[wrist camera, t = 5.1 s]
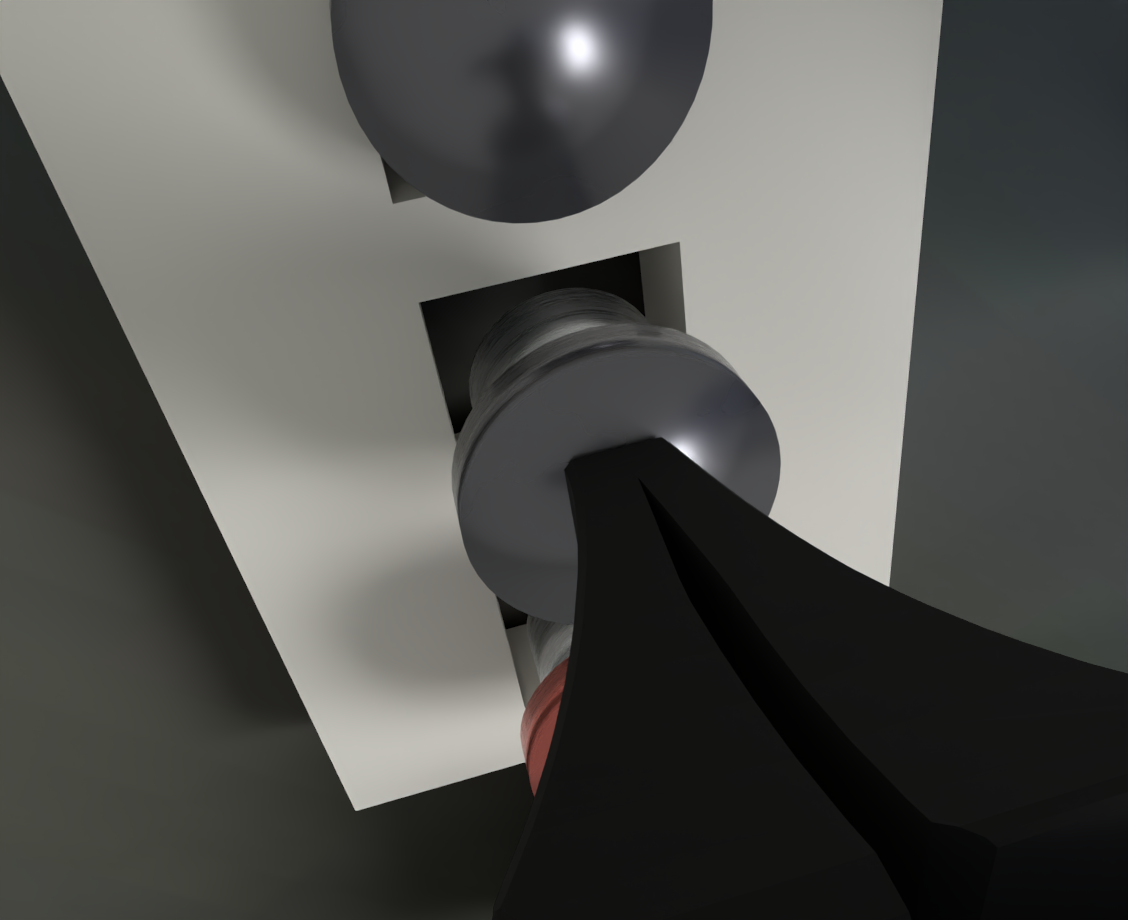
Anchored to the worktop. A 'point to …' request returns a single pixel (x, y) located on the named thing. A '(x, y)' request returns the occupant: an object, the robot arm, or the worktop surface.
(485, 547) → the grey plunger middle
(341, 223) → the block
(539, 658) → the copper push button
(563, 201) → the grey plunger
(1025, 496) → the worktop surface
